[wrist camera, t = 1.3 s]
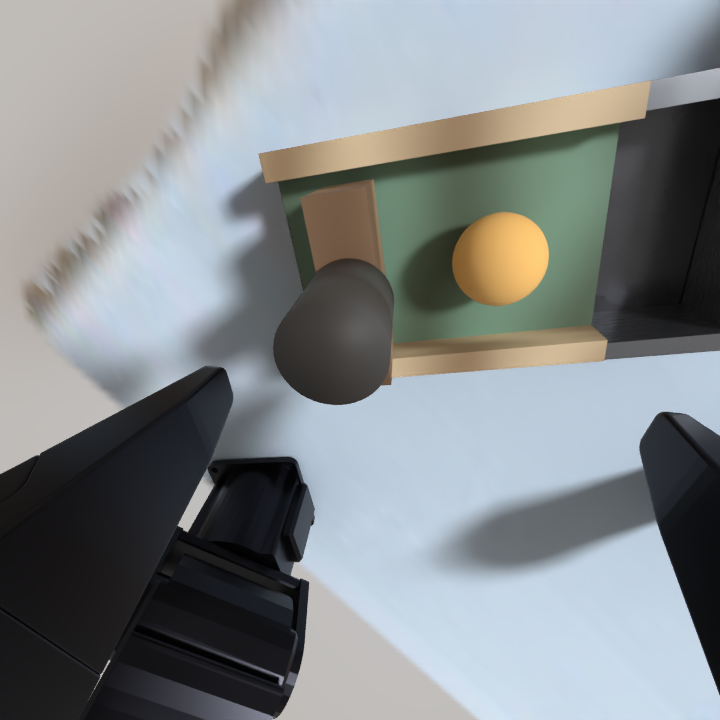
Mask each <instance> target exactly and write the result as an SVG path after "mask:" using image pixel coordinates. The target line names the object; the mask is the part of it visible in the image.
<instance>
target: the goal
mask: <svg viewBox="0 0 720 720" xmlns="http://www.w3.org/2000/svg"><path fill="white" fill-rule="evenodd" d="M591 325H592V326H593V327H594V328H595V329H596V330H597V331H598V332H599V333H600V334H602V335H603V336H604V337H605V338H606V339H607V340H608V341H607V347H606V353H605V359H604V360H606V359H619V358H632V357H644V356H657V355H670V354H682V353H695V352H707V351H720V68H716V69H711V70H706V71H700V72H695V73H690V74H684V75H679V76H673V77H668V78H663V79H657V80H652V81H651V85H650V91H649V97H648V103H647V109H646V115H645V118H643V119H637V120H631V121H625V122H620V127H619V134H618V141H617V148H616V155H615V162H614V169H613V176H612V183H611V190H610V197H609V204H608V211H607V218H606V226H605V233H604V240H603V247H602V254H601V261H600V268H599V275H598V282H597V289H596V296H595V303H594V310H593V317H592V324H591Z"/></svg>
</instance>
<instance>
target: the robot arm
mask: <svg viewBox="0 0 720 720" xmlns="http://www.w3.org/2000/svg"><path fill="white" fill-rule="evenodd" d="M232 403H233V392H232V389H231V385H230V382H229V379H228V375H227V372H226V370H225V369H224V368H222V367H216V366H205V367H203V368H201V369H199V370H197V371H195V372H193V373H191V374H189V375H188V376H186V377H184V378H182V379H180V380H178V381H176V382H174V383H172V384H171V385H169V386H167V387H165V388H163V389H161V390H159V391H157V392H155V393H153V394H152V395H150V396H148V397H146V398H144V399H142V400H140V401H138V402H136V403H135V404H133V405H131V406H129V407H127V408H125V409H123V410H121V411H119V412H118V413H116V414H114V415H112V416H110V417H108V418H106V419H105V420H102V421H101V422H99V423H97V424H95V425H93V426H91V427H89V428H87V429H85V430H83V431H82V432H80V433H78V434H76V435H74V436H72V437H70V438H69V439H66V440H65V441H63V442H61V443H59V444H57V445H55V446H53V447H51V448H49V449H48V450H46V451H44V452H42V453H41V454H40V456H39V455H37V456H34V457H32V458H30V459H29V460H27V461H25V462H23V463H21V464H19V465H17V466H15V467H14V468H12V469H10V470H8V471H6V472H4V473H2V474H0V720H272V719H275V718H277V717H278V716H279V715H280V714H281V712H282V711H283V709H284V707H285V706H286V704H287V702H288V700H289V698H290V695H291V693H292V690H293V688H294V685H295V682H296V679H297V676H298V673H299V669H300V665H301V661H302V656H303V651H304V642H305V630H306V616H307V604H308V591H309V582H308V581H306V580H303V579H300V580H299V579H297V578H295V577H292V576H290V575H291V571H292V568H293V564H294V562H300V561H301V559H302V558H303V554H304V550H305V546H306V542H307V538H308V534H309V530H310V526H311V525H313V524H314V520H315V517H314V510H315V509H314V505H313V502H312V499H311V495H310V492H309V489H308V486H307V485H306V484H305V483H304V481H303V478H302V474H301V471H300V468H299V465H298V462H297V460H295V459H294V458H290V457H288V458H267V459H245V460H223V461H212V462H211V463H210V465H209V467H208V464H209V462H210V460H211V458H212V456H213V453H214V451H215V448H216V445H217V443H218V440H219V438H220V435H221V432H222V430H223V427H224V424H225V422H226V419H227V417H228V414H229V411H230V409H231V406H232ZM639 448H640V455H641V459H642V463H643V468H644V472H645V476H646V480H647V484H648V488H649V493H650V497H651V501H652V505H653V509H654V513H655V517H656V521H657V524H658V527H659V530H660V533H661V536H662V539H663V542H664V544H665V547H666V550H667V553H668V555H669V558H670V561H671V564H672V566H673V569H674V572H675V574H676V577H677V580H678V583H679V585H680V588H681V591H682V594H683V596H684V599H685V602H686V605H687V607H688V610H689V613H690V615H691V618H692V621H693V624H694V626H695V629H696V632H697V635H698V637H699V640H700V643H701V646H702V648H703V651H704V654H705V656H706V659H707V662H708V665H709V667H710V670H711V673H712V676H713V678H714V681H715V684H716V687H717V689H718V692H719V695H720V436H719V435H718V434H716V433H715V432H713V431H712V430H710V429H709V428H707V427H705V426H704V425H702V424H701V423H699V422H698V421H696V420H695V419H693V418H692V417H690V416H689V415H686V414H682V413H673V412H661V413H659V414H657V415H656V417H655V418H654V420H653V421H652V423H651V424H650V426H649V428H648V429H647V431H646V432H645V434H644V436H643V437H642V439H641V441H640V447H639ZM288 464H290V465H292V466H290V465H288ZM207 467H208V471H209V473H210V475H211V478H212V480H213V482H214V484H215V486H214V487H213V489H212V491H211V493H210V494H209V496H208V498H207V500H206V502H205V503H204V505H203V507H202V508H201V510H200V512H199V514H198V516H197V517H196V519H195V521H194V523H193V524H192V526H191V528H190V530H189V531H188V532H186V531H184V530H183V528H181V527H179V526H177V525H178V523H179V521H180V520H181V517H182V515H183V514H184V512H185V510H186V507H187V506H188V504H189V502H190V500H191V498H192V496H193V494H194V492H195V490H196V488H197V486H198V484H199V482H200V480H201V478H202V477H203V475H204V473H205V471H206V469H207ZM108 660H111V661H110V663H109V665H108V666H107V668H106V670H105V672H104V674H103V675H102V677H101V679H100V681H99V682H98V680H99V678H100V674H101V673H102V672H103V670H104V668H105V666H106V664H107V662H108ZM97 682H98V684H97ZM96 684H97V686H96ZM95 686H96V688H95ZM94 688H95V690H94ZM93 690H94V691H93ZM92 692H93V693H92ZM91 694H92V695H91ZM90 696H91V697H90ZM89 698H90V699H89Z"/></svg>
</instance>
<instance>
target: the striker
mask: <svg viewBox="0 0 720 720" xmlns="http://www.w3.org/2000/svg"><path fill="white" fill-rule="evenodd" d="M300 200H301V204H302V209H303V214H304V219H305V223H306V228H307V233H308V237H309V242H310V247H311V252H312V256H313V261H314V266H315V270H316V275H315V276H314V278H313V279H312V280H311V282H310V283H309V284H308V286H307V287H306V289H305V290H304V291H303V293H302V294H301V296H300V297H299V298H298V300H297V301H296V303H295V304H294V305H293V307H292V308H291V310H290V311H289V312H288V314H287V315H286V317H285V318H284V319H283V321H282V322H281V324H280V325H279V327H278V329H277V332H276V334H275V338H274V347H273V349H274V357H275V362H276V364H277V367H278V369H279V371H280V373H281V375H282V376H283V378H284V379H285V380H286V382H287V383H288V384H289V385H290V386H291V387H292V388H293V389H294V390H296V391H297V392H299V393H300V394H301V395H303V396H305V397H307V398H309V399H311V400H314V401H317V402H320V403H324V404H331V405H343V404H350V403H354V402H357V401H360V400H362V399H364V398H366V397H368V396H369V395H371V394H372V393H374V392H375V391H376V390H377V389H378V388H379V387H380V385H391V379H392V362H393V344H394V337H393V329H392V328H393V313H394V294H393V290H392V287H391V285H390V283H389V281H388V279H387V278H386V273H385V265H384V257H383V249H382V241H381V233H380V225H379V217H378V209H377V201H376V193H375V185H374V179H370V180H364V181H358V182H352V183H346V184H340V185H334V186H328V187H323V188H321V189H319V190H317V191H315V192H312V193H310V194H308V195H306V196H303V197H301V198H300Z"/></svg>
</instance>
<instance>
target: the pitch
mask: <svg viewBox="0 0 720 720" xmlns="http://www.w3.org/2000/svg"><path fill="white" fill-rule="evenodd" d="M650 85H651V81H646V82H640V83H635V84H630V85H624V86H619V87H614V88H608V89H603V90H598V91H592V92H587V93H581V94H576V95H571V96H565V97H560V98H555V99H549V100H544V101H539V102H533V103H528V104H523V105H517V106H512V107H506V108H501V109H496V110H490V111H485V112H480V113H474V114H469V115H464V116H458V117H453V118H448V119H442V120H437V121H431V122H426V123H421V124H415V125H410V126H405V127H399V128H394V129H389V130H383V131H378V132H373V133H367V134H362V135H356V136H351V137H346V138H340V139H335V140H330V141H324V142H319V143H314V144H308V145H303V146H298V147H292V148H287V149H281V150H276V151H271V152H265V153H260V154H259V159H260V163H261V167H262V171H263V175H264V179H265V183H271V182H277V181H278V183H279V187H280V191H281V196H282V200H283V204H284V209H285V213H286V217H287V221H288V226H289V230H290V234H291V239H292V243H293V247H294V251H295V256H296V260H297V264H298V269H299V273H300V277H301V282H302V286H303V290H305V289H306V287H307V286H308V284H309V283H310V282H311V280H312V279H313V278H314V276H315V275H316V270H315V266H314V261H313V256H312V252H311V247H310V242H309V237H308V233H307V228H306V223H305V219H304V214H303V209H302V204H301V200H300V198H301V197H303V196H306V195H308V194H310V193H312V192H315V191H317V190H319V189H321V188H323V187H328V186H334V185H340V184H346V183H352V182H358V181H364V180H370V179H374V185H375V193H376V201H377V209H378V217H379V225H380V233H381V241H382V249H383V257H384V265H385V273H386V278H387V279H388V281H389V283H390V285H391V287H392V290H393V294H394V313H393V328H392V329H393V337H394V344H393V362H392V378H393V377H406V376H418V375H431V374H444V373H456V372H469V371H482V370H495V369H507V368H520V367H533V366H545V365H558V364H571V363H584V362H596V361H604V359H605V353H606V347H607V341H608V340H607V339H606V338H605V337H604V336H603V335H602V334H600V333H599V332H598V331H597V330H596V329H595V328H594V327H593V326H592V325H591V324H592V317H593V310H594V303H595V296H596V289H597V282H598V275H599V268H600V261H601V254H602V247H603V240H604V233H605V226H606V218H607V211H608V204H609V197H610V190H611V183H612V176H613V169H614V162H615V155H616V148H617V141H618V134H619V127H620V122H625V121H631V120H637V119H643V118H645V115H646V109H647V103H648V97H649V91H650ZM498 212H511V213H516V214H520V215H522V216H525V217H527V218H529V219H530V220H531V221H533V222H534V223H535V224H536V225H537V226H538V227H539V228H540V229H541V231H542V232H543V234H544V236H545V238H546V241H547V244H548V249H549V260H548V266H547V270H546V272H545V275H544V277H543V279H542V280H541V282H540V283H539V285H538V286H537V287H536V288H535V289H534V290H533V291H532V292H531V293H530V294H529V295H527V296H526V297H525V298H523V299H521V300H519V301H517V302H515V303H512V304H508V305H503V306H490V305H485V304H481V303H478V302H476V301H474V300H473V299H471V298H470V297H468V296H467V295H466V294H465V293H464V292H463V291H462V290H461V289H460V287H459V286H458V284H457V282H456V280H455V277H454V273H453V267H452V258H453V252H454V249H455V246H456V244H457V242H458V240H459V238H460V236H461V235H462V234H463V232H464V231H465V230H466V229H467V228H468V227H469V226H470V225H471V224H472V223H474V222H475V221H477V220H478V219H480V218H482V217H484V216H487V215H490V214H493V213H498Z"/></svg>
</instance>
